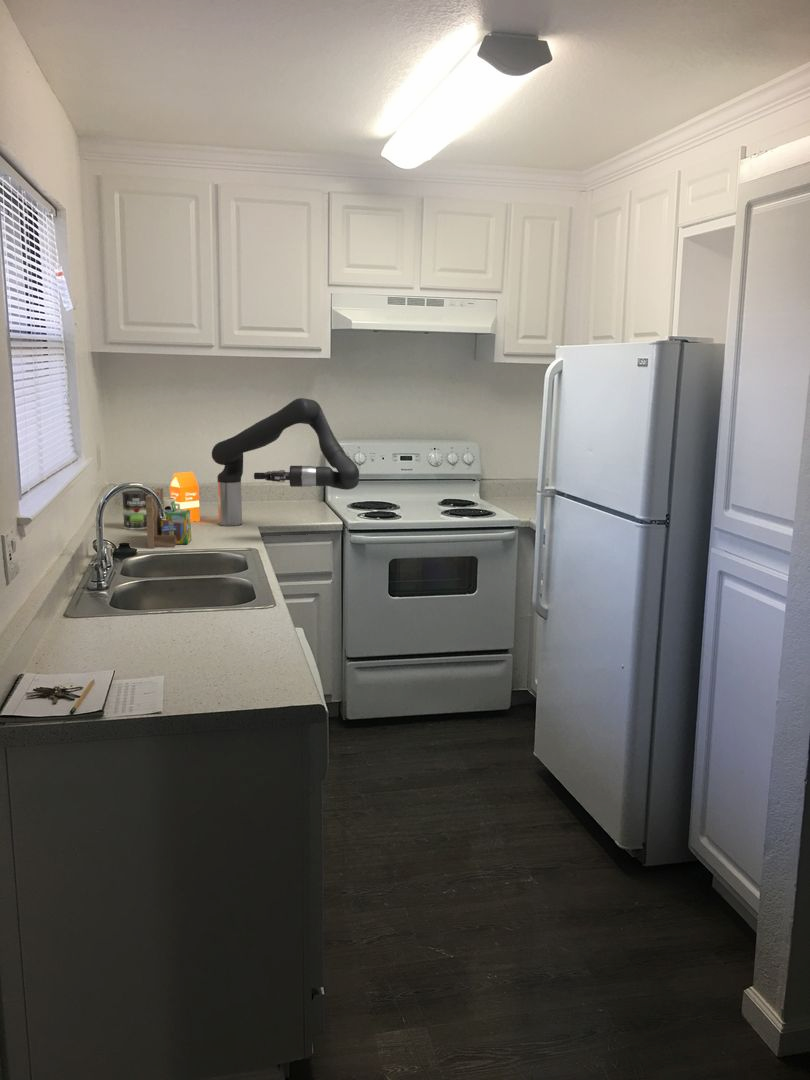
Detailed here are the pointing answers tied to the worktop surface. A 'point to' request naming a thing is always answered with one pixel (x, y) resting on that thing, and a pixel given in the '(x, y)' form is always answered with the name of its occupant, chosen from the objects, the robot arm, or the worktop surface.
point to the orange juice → (186, 493)
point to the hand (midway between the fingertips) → (254, 475)
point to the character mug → (169, 503)
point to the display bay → (156, 523)
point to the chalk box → (177, 524)
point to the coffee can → (134, 510)
